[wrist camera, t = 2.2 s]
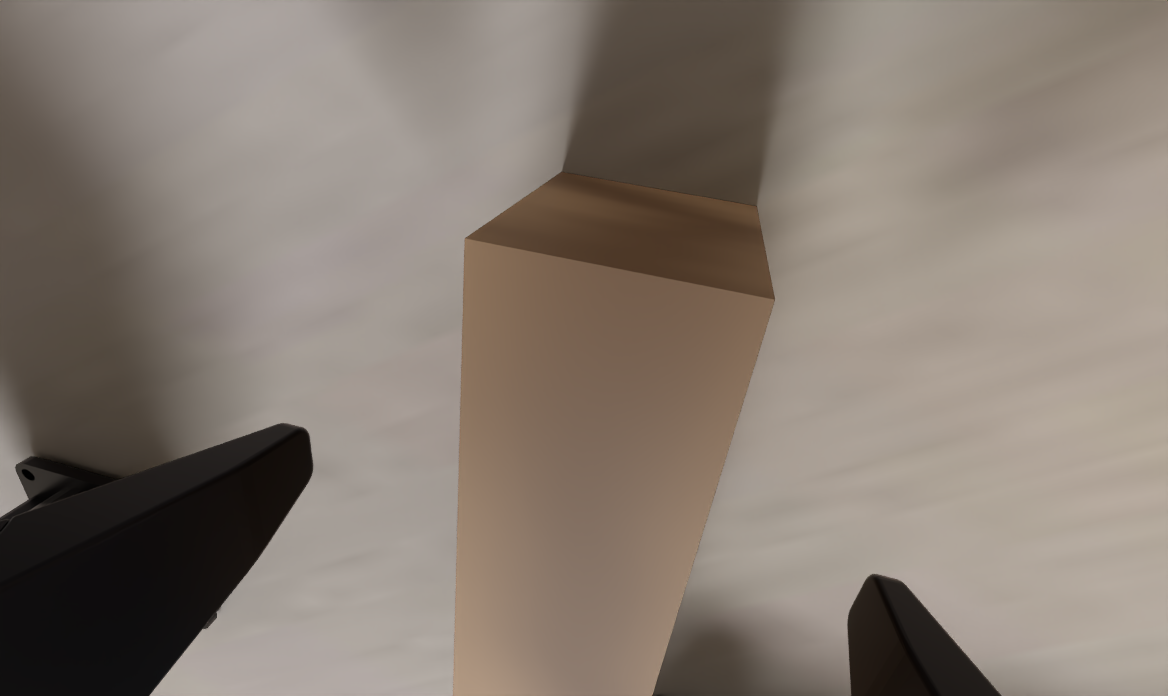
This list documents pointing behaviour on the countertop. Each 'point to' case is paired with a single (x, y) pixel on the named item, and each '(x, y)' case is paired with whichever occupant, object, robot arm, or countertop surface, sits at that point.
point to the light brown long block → (595, 426)
